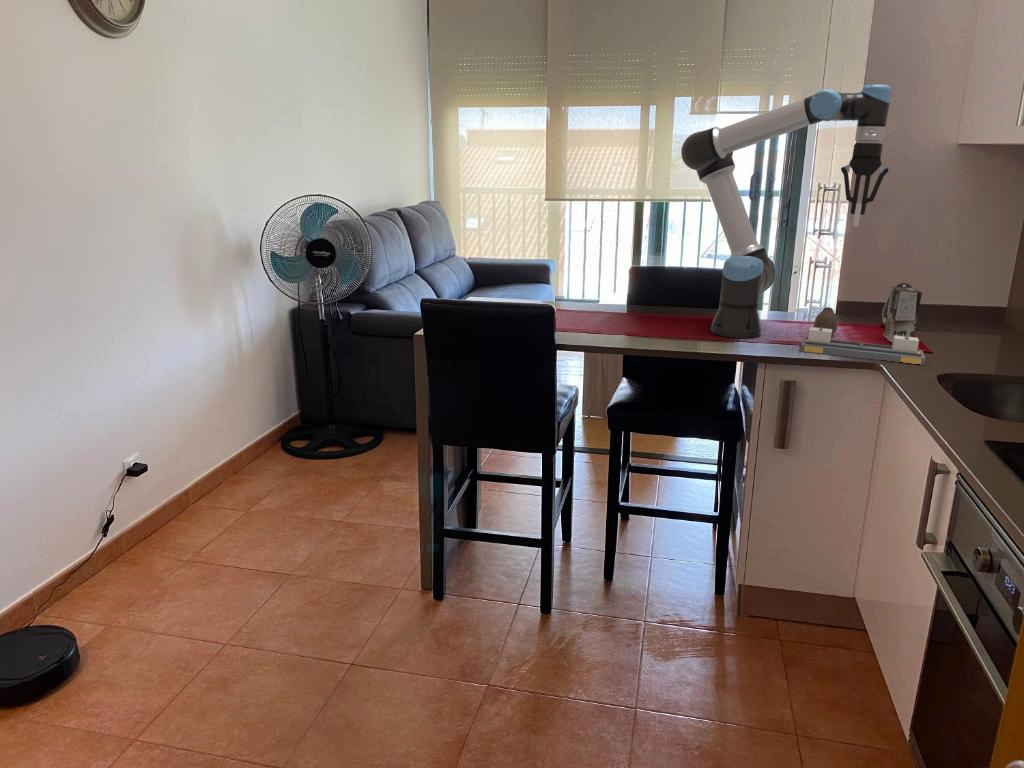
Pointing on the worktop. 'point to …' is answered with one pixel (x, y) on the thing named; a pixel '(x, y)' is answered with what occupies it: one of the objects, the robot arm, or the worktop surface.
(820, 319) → the vase
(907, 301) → the coffee box
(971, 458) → the worktop surface
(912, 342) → the slider
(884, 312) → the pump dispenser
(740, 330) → the robot arm
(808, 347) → the grey slider track
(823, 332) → the slider
